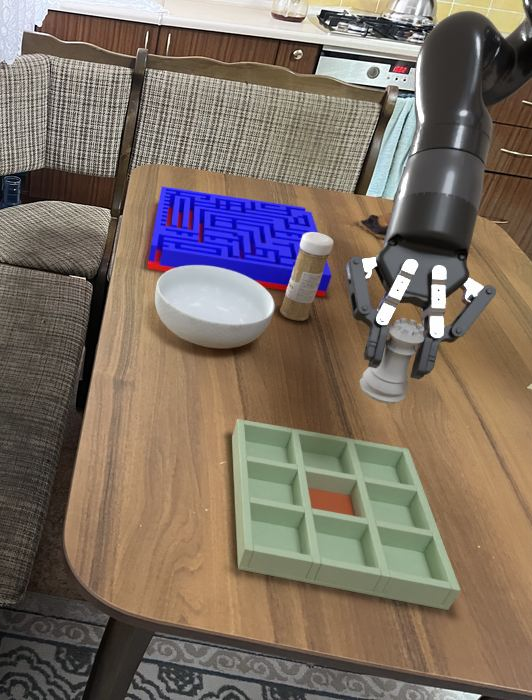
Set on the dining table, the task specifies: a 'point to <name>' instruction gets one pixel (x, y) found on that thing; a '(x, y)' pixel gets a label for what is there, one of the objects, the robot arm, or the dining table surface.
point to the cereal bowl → (213, 306)
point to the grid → (337, 515)
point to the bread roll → (376, 224)
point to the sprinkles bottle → (306, 275)
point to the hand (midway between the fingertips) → (395, 370)
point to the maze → (231, 236)
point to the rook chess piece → (393, 364)
